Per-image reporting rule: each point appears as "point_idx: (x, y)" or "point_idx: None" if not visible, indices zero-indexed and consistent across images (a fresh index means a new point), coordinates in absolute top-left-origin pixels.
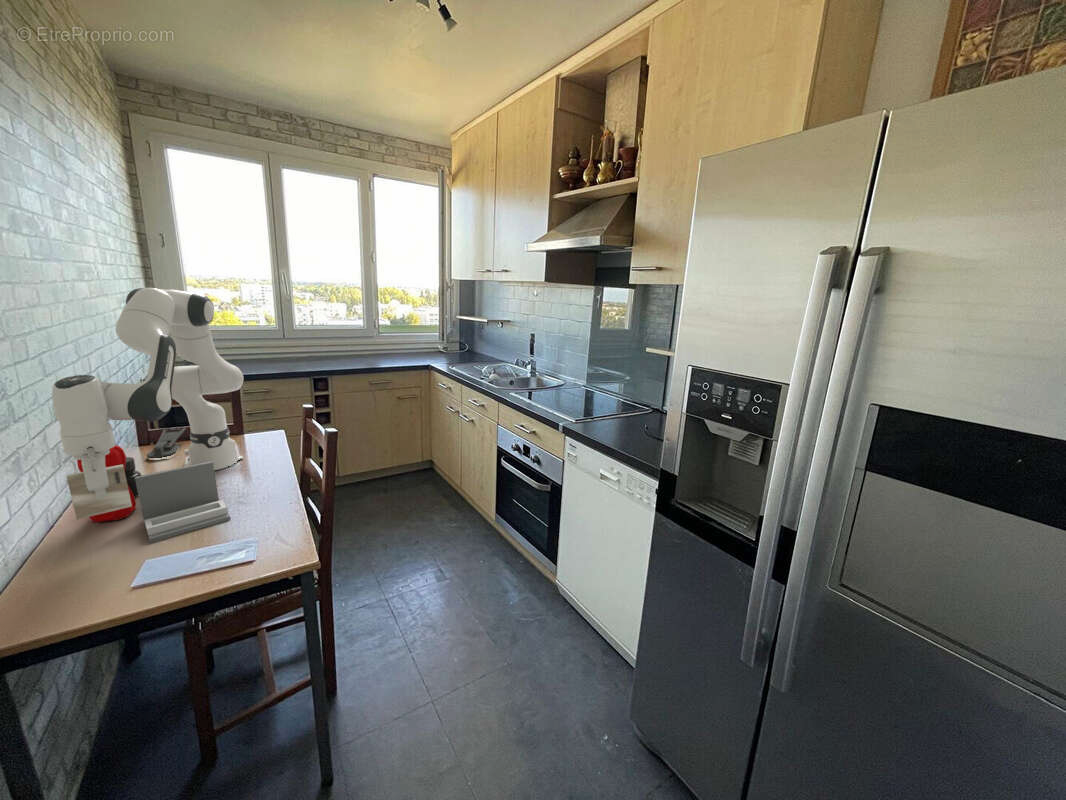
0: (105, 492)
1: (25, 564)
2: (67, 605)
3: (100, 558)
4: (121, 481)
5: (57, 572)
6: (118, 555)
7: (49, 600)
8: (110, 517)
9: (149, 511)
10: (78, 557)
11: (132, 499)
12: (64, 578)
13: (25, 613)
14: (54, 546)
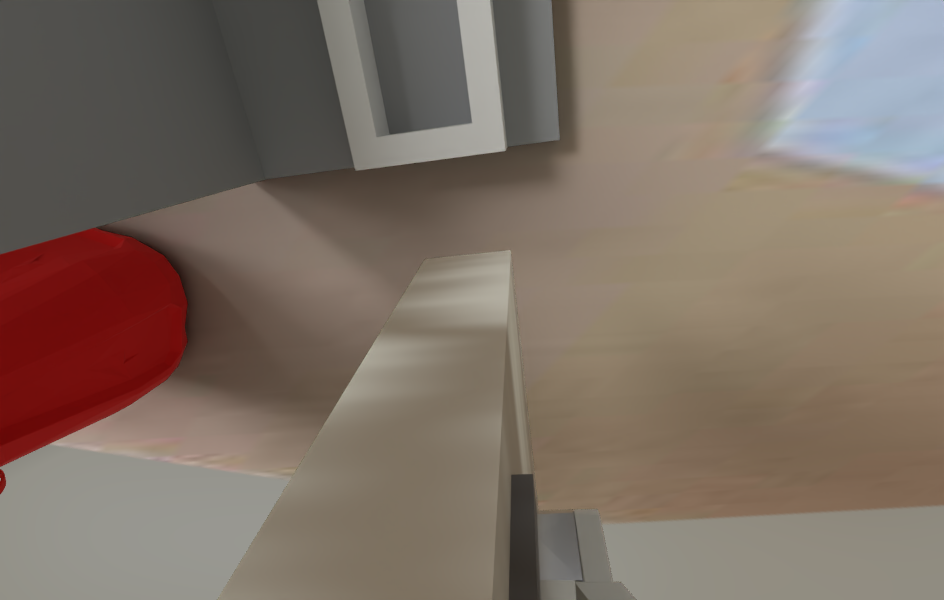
0: (603, 549)
1: None
2: (939, 392)
3: (579, 322)
4: (511, 480)
5: (598, 431)
6: (602, 263)
7: (830, 437)
8: (176, 315)
9: (230, 148)
10: None
11: None
12: (674, 412)
13: (864, 481)
14: None
